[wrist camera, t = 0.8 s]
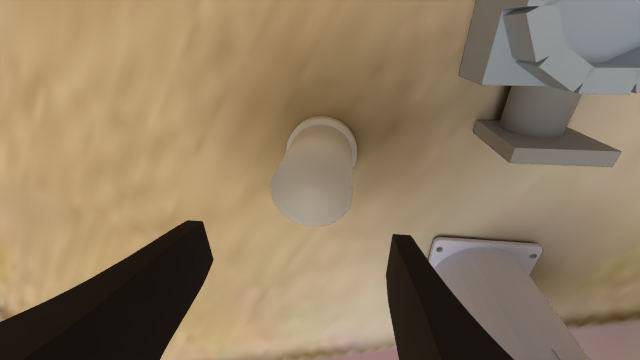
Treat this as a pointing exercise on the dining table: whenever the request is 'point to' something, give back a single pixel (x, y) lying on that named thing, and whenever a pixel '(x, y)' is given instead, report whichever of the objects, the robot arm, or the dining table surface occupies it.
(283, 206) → the cylinder
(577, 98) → the valve
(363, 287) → the dining table surface
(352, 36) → the dining table surface
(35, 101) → the dining table surface
